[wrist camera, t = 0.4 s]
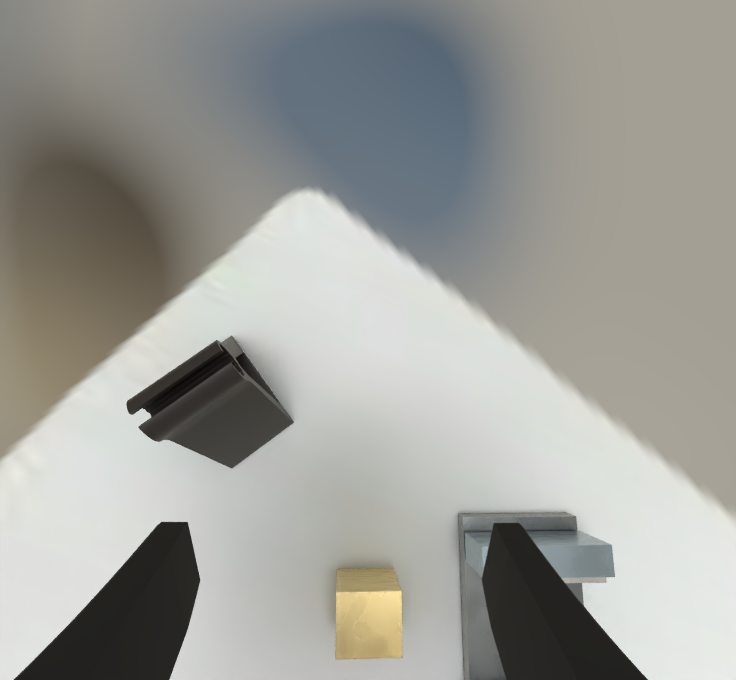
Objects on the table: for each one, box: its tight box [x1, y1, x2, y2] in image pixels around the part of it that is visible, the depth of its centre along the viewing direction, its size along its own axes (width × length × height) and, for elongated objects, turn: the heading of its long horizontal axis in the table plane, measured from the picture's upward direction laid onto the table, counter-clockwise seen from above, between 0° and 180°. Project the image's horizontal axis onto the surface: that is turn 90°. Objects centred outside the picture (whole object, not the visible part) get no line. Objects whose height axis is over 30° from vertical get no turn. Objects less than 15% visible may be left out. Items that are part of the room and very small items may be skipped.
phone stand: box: [127, 336, 293, 468], centre depth 30 cm, size 9×6×12 cm, turn 37°
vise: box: [458, 513, 615, 680], centre depth 31 cm, size 16×9×6 cm, turn 0°
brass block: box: [335, 568, 403, 659], centre depth 32 cm, size 4×4×5 cm
